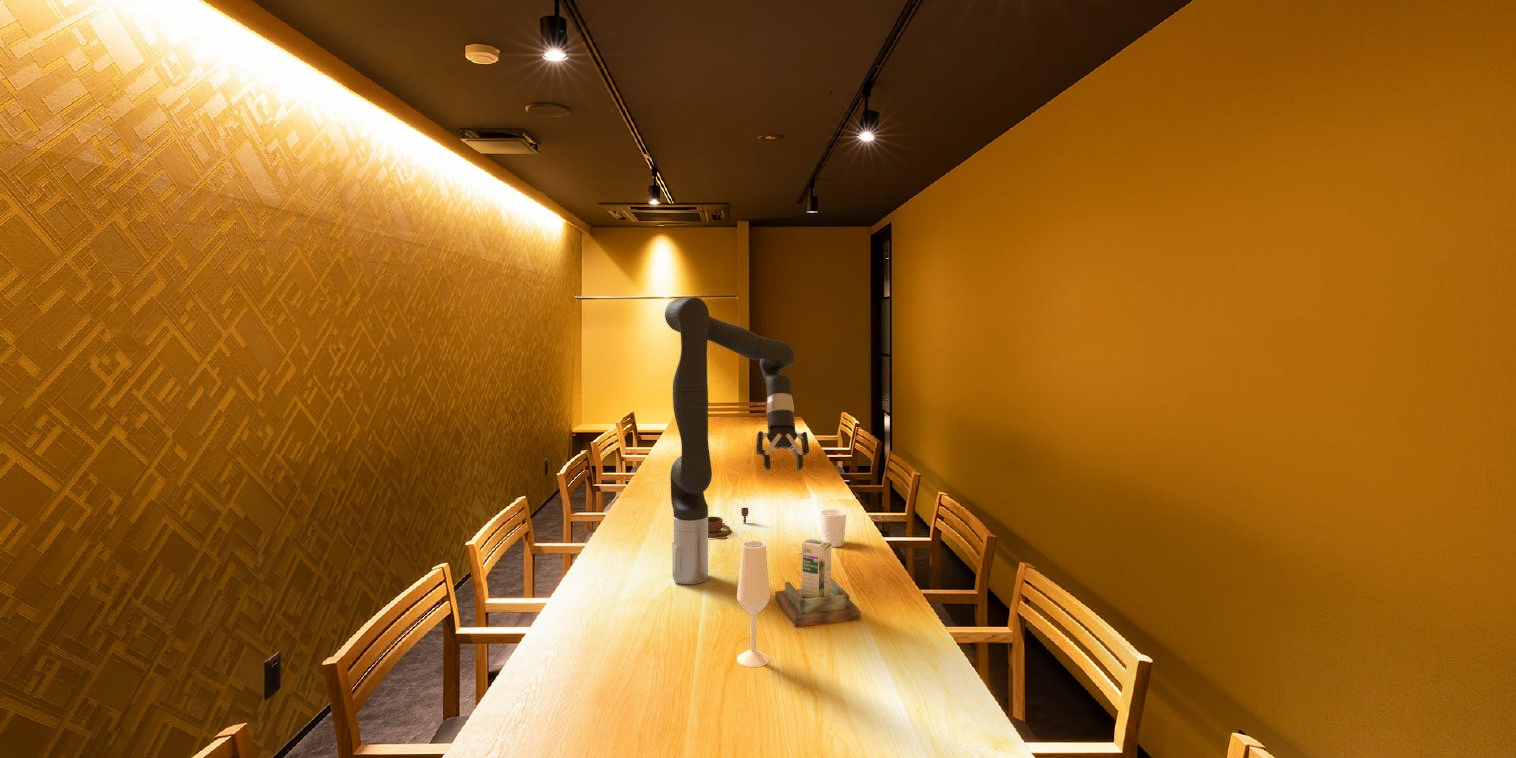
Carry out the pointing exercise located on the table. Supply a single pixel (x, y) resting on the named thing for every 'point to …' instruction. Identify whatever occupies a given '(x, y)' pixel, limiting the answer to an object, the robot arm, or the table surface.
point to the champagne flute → (753, 595)
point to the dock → (817, 606)
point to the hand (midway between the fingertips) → (783, 469)
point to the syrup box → (816, 568)
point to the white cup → (833, 526)
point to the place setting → (721, 525)
